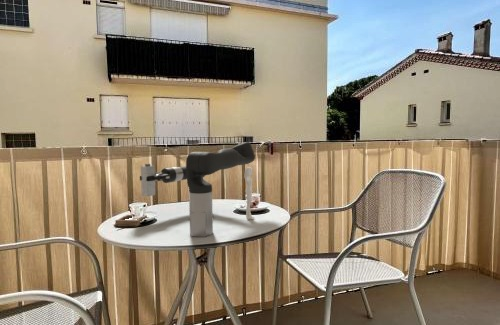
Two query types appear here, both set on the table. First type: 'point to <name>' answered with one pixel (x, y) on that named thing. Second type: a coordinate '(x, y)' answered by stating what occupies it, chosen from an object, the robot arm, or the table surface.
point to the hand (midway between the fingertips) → (143, 178)
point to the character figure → (248, 191)
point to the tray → (129, 221)
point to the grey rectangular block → (147, 186)
